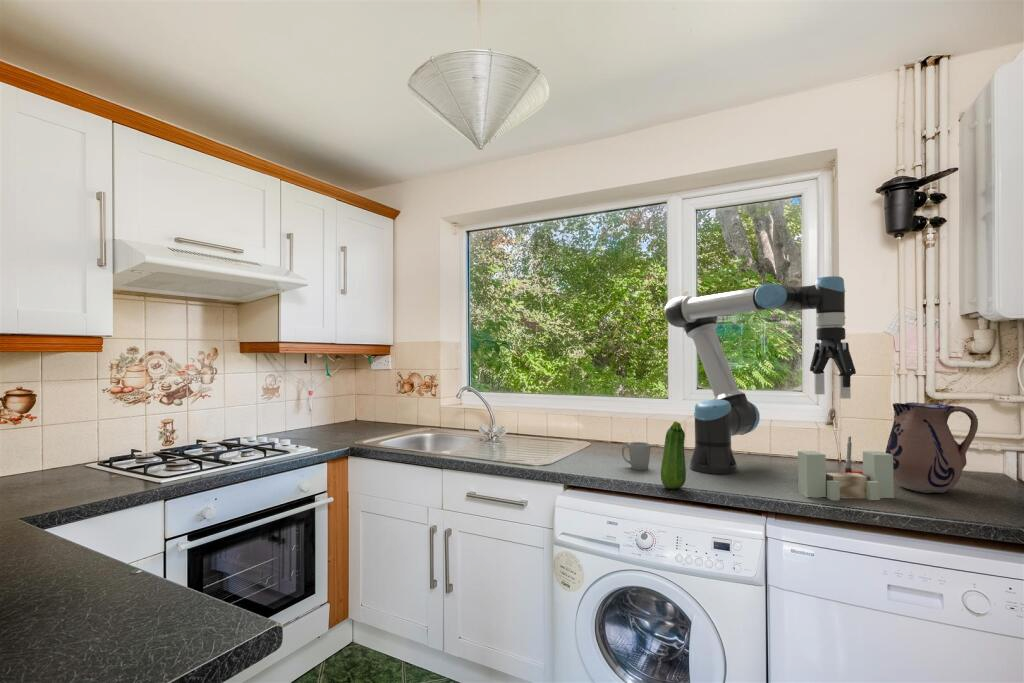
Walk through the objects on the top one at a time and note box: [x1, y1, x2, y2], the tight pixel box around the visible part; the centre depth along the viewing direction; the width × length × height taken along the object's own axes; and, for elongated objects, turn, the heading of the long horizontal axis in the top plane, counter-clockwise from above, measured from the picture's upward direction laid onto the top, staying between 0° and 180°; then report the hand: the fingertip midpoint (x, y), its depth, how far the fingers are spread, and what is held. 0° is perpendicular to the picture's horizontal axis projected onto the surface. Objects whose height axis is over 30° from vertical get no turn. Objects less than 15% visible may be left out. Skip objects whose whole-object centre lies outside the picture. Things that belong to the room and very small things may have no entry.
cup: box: [621, 441, 652, 471], centre depth 178 cm, size 8×10×8 cm
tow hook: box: [843, 435, 863, 474], centre depth 164 cm, size 8×13×9 cm
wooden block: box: [826, 472, 870, 499], centre depth 143 cm, size 11×4×6 cm, turn 87°
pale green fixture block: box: [862, 450, 895, 501], centre depth 143 cm, size 8×9×12 cm
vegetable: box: [660, 420, 687, 490], centre depth 152 cm, size 7×7×20 cm
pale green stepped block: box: [797, 450, 841, 501], centre depth 143 cm, size 8×9×12 cm
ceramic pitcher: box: [884, 401, 979, 494], centre depth 148 cm, size 18×21×25 cm
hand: (831, 396), depth 156 cm, fingers open, 13 cm apart
